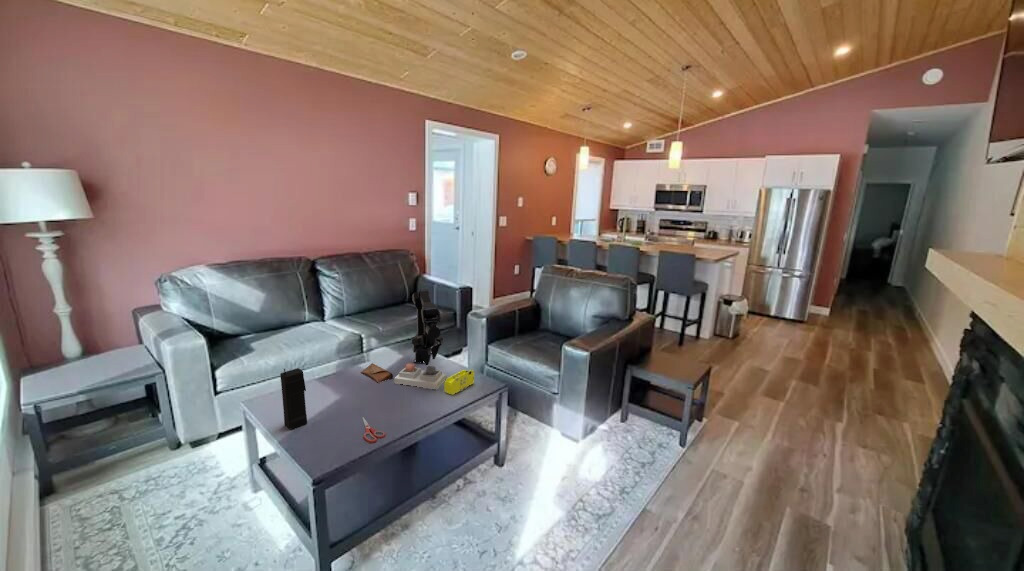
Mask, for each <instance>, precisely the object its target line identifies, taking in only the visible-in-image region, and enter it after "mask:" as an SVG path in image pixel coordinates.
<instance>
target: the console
mask: <svg viewBox="0 0 1024 571" xmlns="http://www.w3.org/2000/svg"><path fill="white" fill-rule="evenodd" d="M393 379H394V381H393V382H394V383H395V385H400V384H403V385H402V386H406V385H411V386H410V387H413V386H417V387H416V388H419V387H423V388H422V389H426V388H430V389H429V390H432V389H436V390H435V391H437V390H438V389H439V388H440V387H441V386H440V385H441V384H442V382H443V381H444V380H445V379H447V373H443V370H437V369H436V373H435V374H434V375H427V374H426V369H425V370H423V369H422V368H421V367H416V366H415V371H413V372H406V366H405V367H404V368H403V369H401V370H400V371H399V373H398V374H397V375H396V376H395V377H393ZM445 381H446V380H445ZM445 381H444V382H445ZM444 382H443V383H444ZM442 385H443V384H442ZM439 386H440V387H439ZM438 387H439V388H438ZM437 388H438V389H437Z"/></svg>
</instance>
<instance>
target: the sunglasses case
mask: <svg viewBox="0 0 1024 571" xmlns="http://www.w3.org/2000/svg"><path fill="white" fill-rule="evenodd" d="M359 373H360V374H361V375H364V376H366V377H368V378H370V379H371V380H373V381H375V382H376V383H377V382H378V384H380V383H379V382H381V383H383V382H382V381H384V382H386V381H389V380H392V379H394V375H393V374H392V372H390V371H388V370H386V369H385V368H382V367H381V366H379V365H377V364H375V363H373V362H371V364H370V365H369V366H366V367H365V369H363V370H362V371H360V372H359ZM391 378H392V379H391ZM388 379H389V380H388ZM385 380H386V381H385Z"/></svg>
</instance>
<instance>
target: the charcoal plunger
mask: <svg viewBox="0 0 1024 571" xmlns="http://www.w3.org/2000/svg"><path fill="white" fill-rule="evenodd" d="M425 370H426V374H427V375H434V374H435V373H436V370H437V369H436V367H435V366H433V365H430V366H426V369H425Z"/></svg>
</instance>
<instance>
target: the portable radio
mask: <svg viewBox="0 0 1024 571" xmlns="http://www.w3.org/2000/svg"><path fill="white" fill-rule="evenodd" d="M304 376H305V375H304V371H303V370H302V369H300V368H294V369H290V370H287V371H286V368H283V372H281V373H280V384H281V393H282V394H281V395H282V396H281V397H282V407H283V419H284V422H283V423H284V426H285V427H286V428H288V429H289V430H295V428H296V429H298V428H301V427H303V426H305V425H307V424H308V417H307V410H306V409H307V408H306V397H305V396H306V395H305V392H306V391H307V390H306V382H305V377H304Z"/></svg>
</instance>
